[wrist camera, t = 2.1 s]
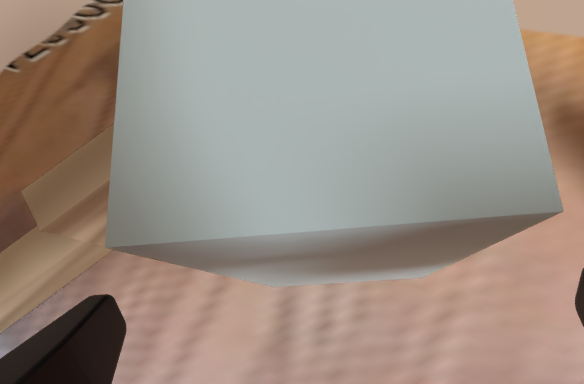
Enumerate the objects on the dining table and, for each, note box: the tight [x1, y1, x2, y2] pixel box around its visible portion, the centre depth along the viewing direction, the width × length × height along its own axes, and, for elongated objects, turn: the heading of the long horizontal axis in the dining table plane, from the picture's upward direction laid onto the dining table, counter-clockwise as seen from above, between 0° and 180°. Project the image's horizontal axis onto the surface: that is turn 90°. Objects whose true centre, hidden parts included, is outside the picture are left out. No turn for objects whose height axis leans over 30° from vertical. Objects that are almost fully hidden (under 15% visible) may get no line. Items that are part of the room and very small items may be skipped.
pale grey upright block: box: [105, 0, 563, 287], centre depth 13 cm, size 6×7×13 cm
